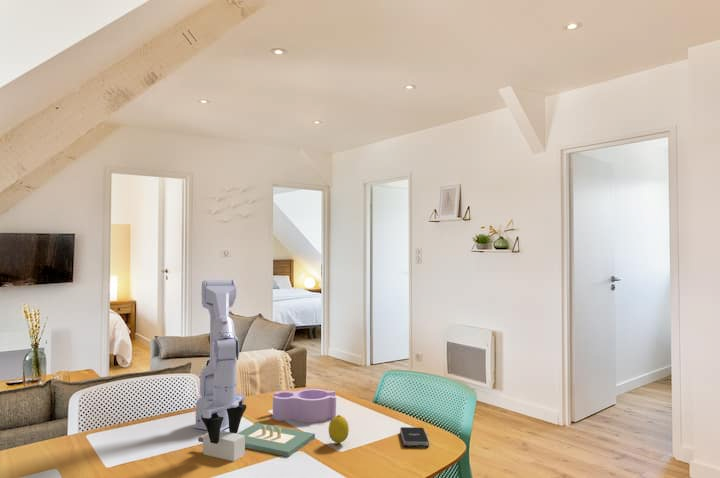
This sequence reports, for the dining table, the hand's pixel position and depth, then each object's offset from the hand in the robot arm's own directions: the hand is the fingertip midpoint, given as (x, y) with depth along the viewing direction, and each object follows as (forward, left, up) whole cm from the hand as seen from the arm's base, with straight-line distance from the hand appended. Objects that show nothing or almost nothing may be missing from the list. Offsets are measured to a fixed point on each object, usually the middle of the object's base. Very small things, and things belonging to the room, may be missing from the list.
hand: (224, 437), depth 128 cm
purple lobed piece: (+4, +35, -5) cm, 36 cm away
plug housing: (-2, 0, -4) cm, 5 cm away
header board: (+6, +13, -4) cm, 15 cm away
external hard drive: (+42, +31, -5) cm, 52 cm away
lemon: (+24, +19, -5) cm, 31 cm away
